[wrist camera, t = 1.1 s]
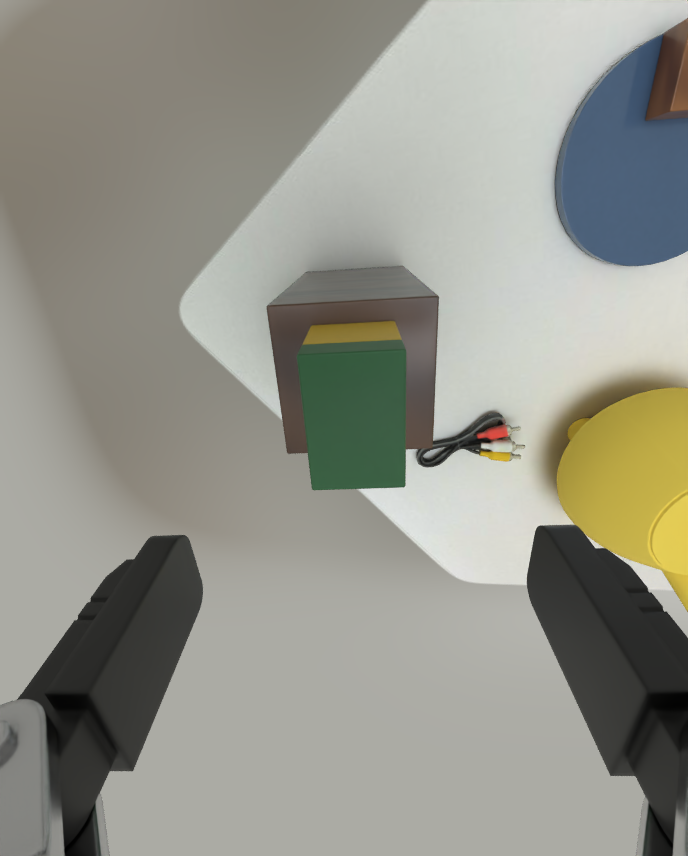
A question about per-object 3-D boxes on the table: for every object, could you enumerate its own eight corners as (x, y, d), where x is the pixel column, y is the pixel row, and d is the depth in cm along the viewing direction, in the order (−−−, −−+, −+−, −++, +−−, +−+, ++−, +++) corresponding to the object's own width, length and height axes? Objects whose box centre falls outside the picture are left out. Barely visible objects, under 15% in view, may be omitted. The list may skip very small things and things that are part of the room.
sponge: (310, 324, 19) (296, 354, 15) (395, 320, 19) (406, 349, 14) (321, 437, 22) (311, 490, 17) (395, 433, 22) (405, 487, 17)
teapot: (710, 520, 43) (852, 638, 31) (559, 557, 46) (633, 679, 34) (710, 347, 35) (902, 412, 23) (526, 406, 38) (608, 493, 26)
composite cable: (417, 466, 41) (421, 480, 39) (411, 424, 39) (414, 436, 37) (517, 449, 40) (526, 463, 38) (516, 406, 38) (525, 417, 36)
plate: (574, 41, 26) (582, 34, 25) (802, 21, 26) (818, 13, 25) (541, 270, 33) (546, 271, 32) (723, 259, 32) (734, 260, 31)
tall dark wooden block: (305, 271, 33) (265, 305, 19) (403, 265, 33) (439, 295, 18) (314, 365, 37) (287, 454, 22) (403, 361, 36) (432, 449, 22)
